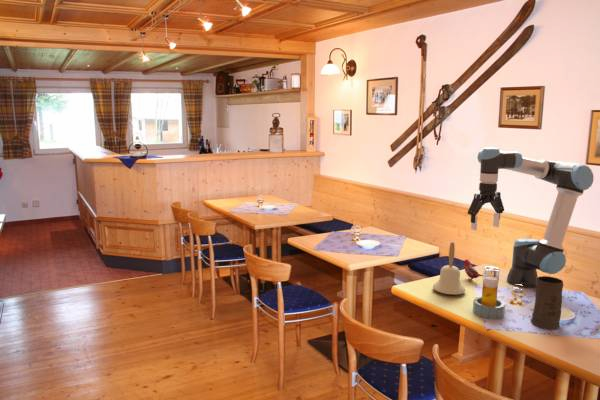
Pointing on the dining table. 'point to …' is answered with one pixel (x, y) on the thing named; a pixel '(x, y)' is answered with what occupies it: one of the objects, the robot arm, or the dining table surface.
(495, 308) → the round grey ashtray
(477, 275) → the decorative bird figurine
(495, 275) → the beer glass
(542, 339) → the dining table surface
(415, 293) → the dining table surface
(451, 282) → the handbell
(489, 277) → the glass of beer
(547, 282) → the beer stein
